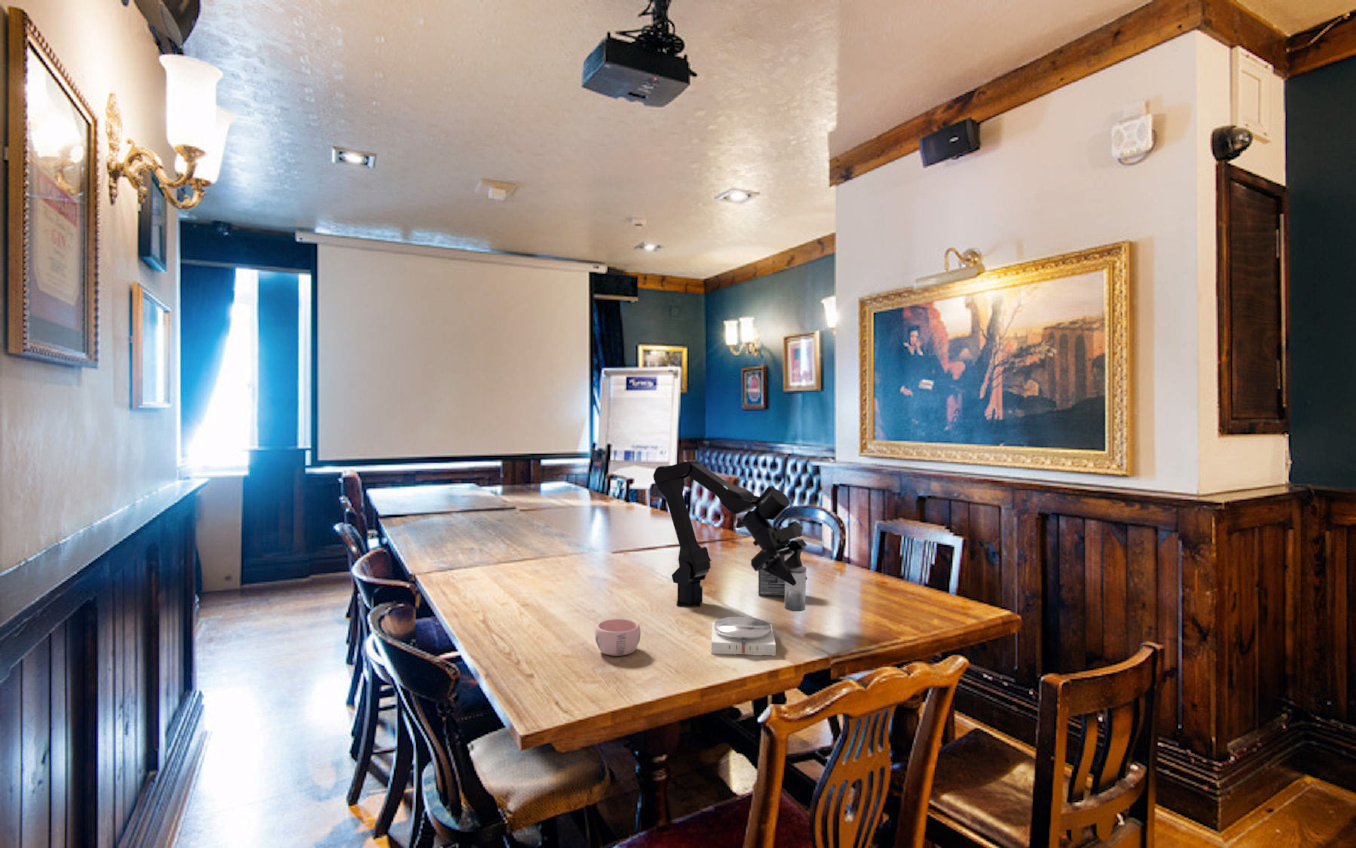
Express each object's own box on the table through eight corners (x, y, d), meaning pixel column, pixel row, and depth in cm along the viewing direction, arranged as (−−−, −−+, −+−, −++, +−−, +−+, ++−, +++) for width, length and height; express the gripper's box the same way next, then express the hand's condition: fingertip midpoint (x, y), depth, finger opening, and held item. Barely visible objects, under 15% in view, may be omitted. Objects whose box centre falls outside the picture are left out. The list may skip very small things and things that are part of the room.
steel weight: (785, 611, 156) (785, 569, 156) (783, 604, 161) (783, 564, 161) (806, 612, 156) (807, 570, 156) (804, 605, 161) (805, 565, 161)
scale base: (711, 653, 142) (711, 642, 142) (712, 632, 156) (712, 621, 156) (775, 656, 141) (775, 644, 141) (771, 634, 155) (771, 623, 155)
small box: (793, 592, 192) (794, 557, 192) (795, 598, 186) (796, 562, 186) (757, 590, 194) (758, 556, 193) (758, 597, 187) (758, 560, 187)
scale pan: (713, 652, 141) (713, 636, 141) (714, 630, 156) (714, 615, 156) (773, 654, 140) (773, 638, 140) (769, 632, 155) (769, 617, 155)
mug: (645, 657, 140) (645, 630, 140) (600, 662, 136) (600, 634, 136) (631, 639, 151) (631, 613, 151) (589, 643, 148) (589, 617, 148)
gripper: (762, 515, 153) (803, 570, 147) (800, 507, 168) (839, 556, 161) (734, 544, 159) (772, 597, 152) (773, 533, 173) (810, 582, 166)
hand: (800, 582), depth 158 cm, fingers closed on steel weight, 5 cm apart
